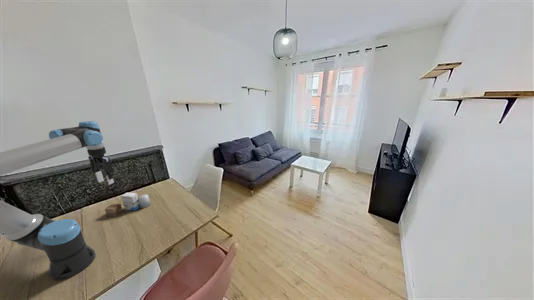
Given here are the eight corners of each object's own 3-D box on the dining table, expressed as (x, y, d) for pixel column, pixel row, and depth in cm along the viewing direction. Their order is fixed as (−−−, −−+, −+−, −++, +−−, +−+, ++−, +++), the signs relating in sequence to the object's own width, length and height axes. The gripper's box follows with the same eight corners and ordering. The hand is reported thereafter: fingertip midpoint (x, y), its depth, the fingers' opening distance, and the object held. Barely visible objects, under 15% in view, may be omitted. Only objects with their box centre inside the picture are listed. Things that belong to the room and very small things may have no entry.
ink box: (140, 206, 127) (137, 192, 124) (135, 210, 123) (131, 196, 119) (130, 205, 128) (126, 191, 124) (124, 209, 123) (120, 195, 120)
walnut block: (115, 216, 117) (113, 209, 115) (106, 216, 117) (104, 209, 115) (122, 210, 122) (120, 203, 120) (114, 210, 122) (112, 203, 120)
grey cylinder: (145, 208, 125) (142, 199, 122) (138, 207, 126) (136, 198, 124) (152, 204, 130) (150, 195, 128) (146, 202, 132) (143, 193, 129)
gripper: (116, 148, 100) (124, 182, 108) (90, 144, 105) (101, 177, 113) (101, 151, 94) (111, 188, 101) (75, 147, 99) (87, 182, 106)
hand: (106, 182), depth 107 cm, fingers open, 8 cm apart
